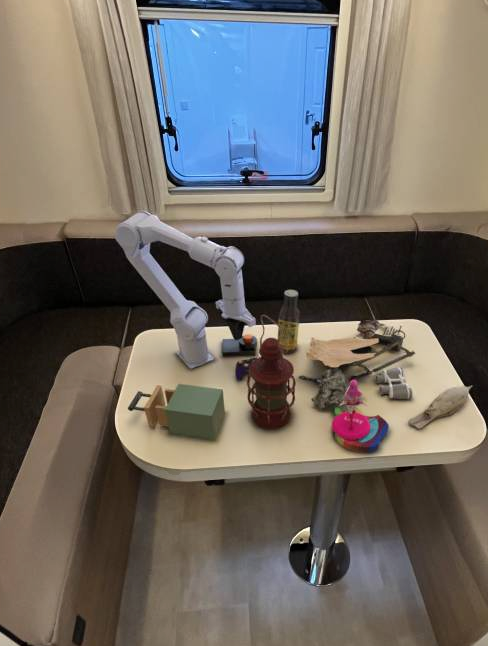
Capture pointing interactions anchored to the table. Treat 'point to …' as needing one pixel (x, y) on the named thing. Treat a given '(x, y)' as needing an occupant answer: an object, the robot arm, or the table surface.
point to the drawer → (153, 405)
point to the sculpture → (442, 405)
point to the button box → (238, 347)
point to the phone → (357, 351)
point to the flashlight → (389, 339)
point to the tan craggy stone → (339, 350)
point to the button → (247, 338)
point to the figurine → (351, 416)
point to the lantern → (271, 384)
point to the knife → (310, 378)
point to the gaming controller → (243, 367)
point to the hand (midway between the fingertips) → (237, 338)
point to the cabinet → (195, 411)
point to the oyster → (368, 327)
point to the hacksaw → (368, 372)
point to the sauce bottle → (289, 321)
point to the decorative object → (371, 439)
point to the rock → (331, 388)
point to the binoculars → (394, 390)
